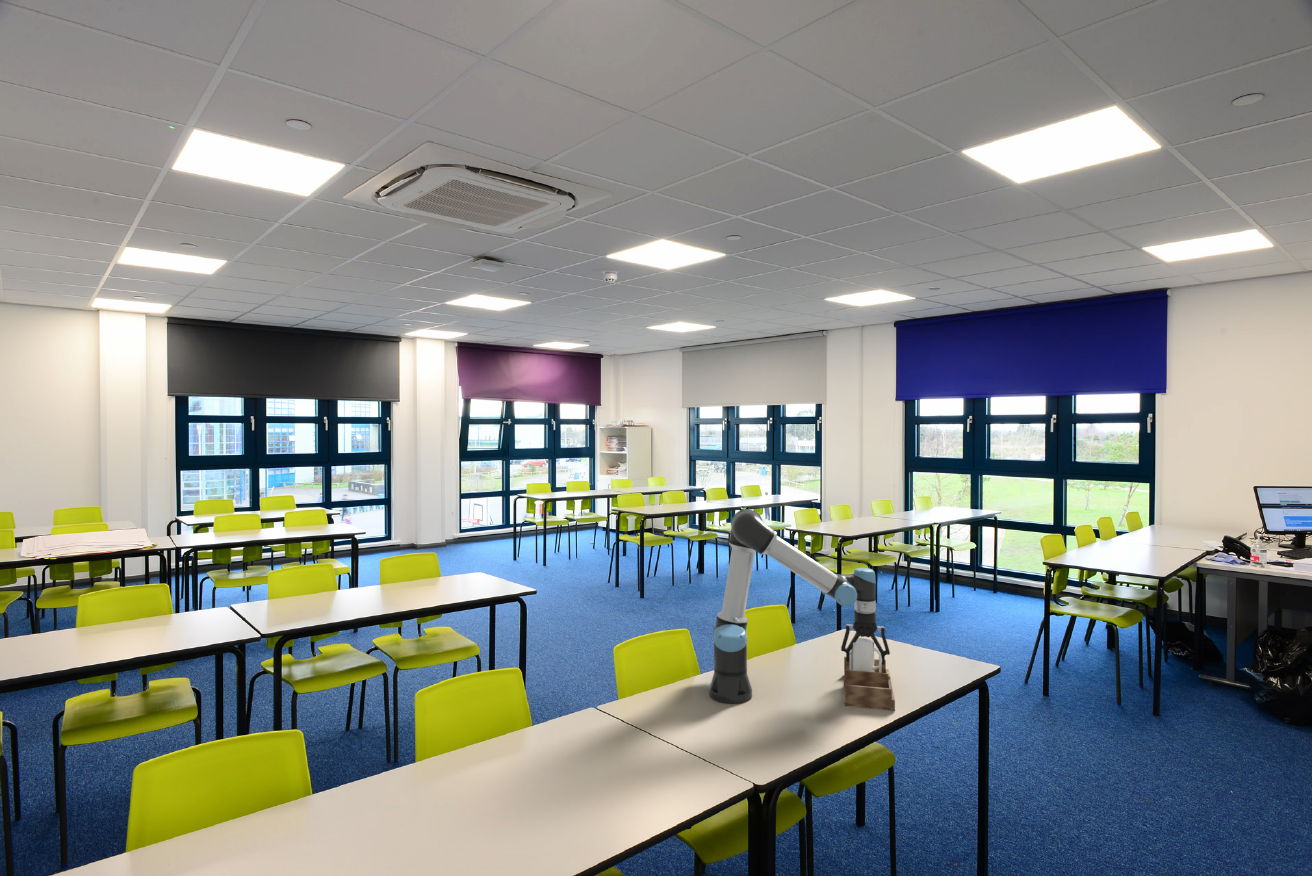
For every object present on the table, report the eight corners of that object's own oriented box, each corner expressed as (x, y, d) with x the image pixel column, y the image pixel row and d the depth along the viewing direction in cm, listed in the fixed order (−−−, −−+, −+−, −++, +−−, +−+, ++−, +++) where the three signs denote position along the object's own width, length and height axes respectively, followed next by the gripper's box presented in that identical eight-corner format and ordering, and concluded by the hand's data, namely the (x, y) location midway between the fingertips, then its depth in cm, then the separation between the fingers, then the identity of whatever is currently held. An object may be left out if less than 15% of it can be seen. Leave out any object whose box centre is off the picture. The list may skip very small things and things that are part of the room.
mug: (887, 676, 243) (887, 644, 243) (873, 682, 238) (873, 648, 238) (860, 668, 252) (859, 636, 252) (846, 673, 247) (845, 640, 247)
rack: (845, 705, 226) (844, 685, 226) (844, 674, 255) (844, 656, 254) (895, 710, 221) (894, 689, 221) (888, 678, 250) (888, 659, 250)
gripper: (833, 611, 244) (833, 672, 244) (898, 615, 238) (898, 677, 239) (833, 606, 252) (833, 665, 252) (896, 610, 246) (896, 670, 246)
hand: (865, 671), depth 245 cm, fingers closed on mug, 10 cm apart
